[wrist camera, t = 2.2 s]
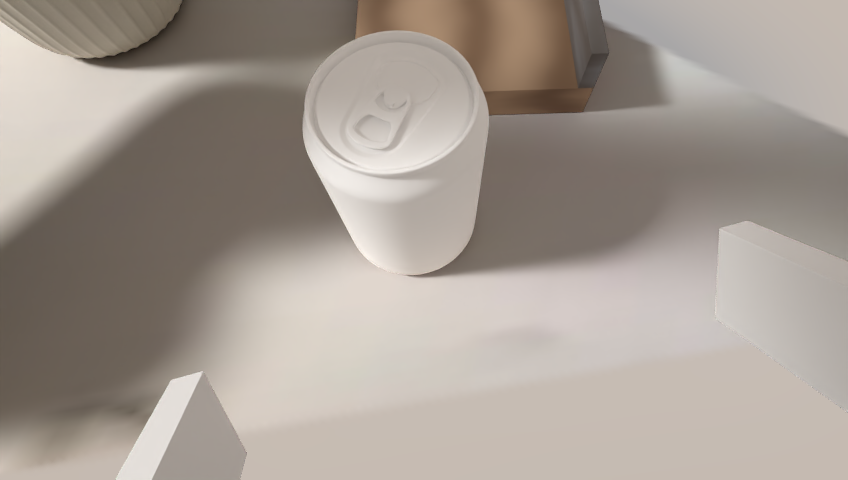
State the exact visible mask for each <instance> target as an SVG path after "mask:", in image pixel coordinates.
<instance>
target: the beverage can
mask: <svg viewBox="0 0 848 480" xmlns="http://www.w3.org/2000/svg"><path fill="white" fill-rule="evenodd" d="M488 130H489V112H488V106H487V102H486V98H485V95H484V93H483V91H482V89H481V87H480V85H479V83H478V81H477V78H476V76H475V73H474V71H473V69H472V68H471V66H470V65H469V63H468V62H467V60H466V59H465V58H464V57H463V56H462V55H461V54H460V53H459V52H458V51H457V50H456V49H454V48H453V47H452V46H450V45H449V44H447V43H445V42H443V41H442V40H439V39H437V38H435V37H432V36H429V35H426V34H423V33H418V32H412V31H398V30H396V31H383V32H377V33H372V34H369V35H365V36H362V37H360V38H357V39H355V40H352V41H350V42H348V43H346V44H345V45H343V46H341V47H340V48H338V49H337V50H336V51H334V52H333V53H332V54H331V55H329V56H328V57H327V58H326V59H325V60H324V61H323V62H322V64H321V65H320V66H319V67H318V69H317V70H316V71H315V73H314V75H313V76H312V78H311V80H310V83H309V85H308V88H307V91H306V96H305V104H304V115H303V139H304V144H305V148H306V151H307V154H308V156H309V158H310V160H311V162H312V164H313V166H314V168H315V170H316V172H317V173H318V175H319V177H320V179H321V181H322V183H323V185H324V187H325V189H326V190H327V192H328V194H329V196H330V198H331V200H332V202H333V204H334V205H335V207H336V209H337V211H338V213H339V215H340V217H341V219H342V221H343V222H344V224H345V226H346V228H347V230H348V232H349V234H350V236H351V237H352V239H353V241H354V243H355V245H356V246H357V248H358V250H359V251H360V252H361V253H362V255H363V256H364V257H365V258H366V259H367V260H369V261H370V262H371V263H373V264H374V265H376V266H377V267H379V268H381V269H383V270H386V271H388V272H392V273H395V274H401V275H419V274H425V273H429V272H432V271H435V270H437V269H440V268H442V267H444V266H445V265H447V264H449V263H450V262H451V261H453V260H454V259H455V258H456V257H457V256H458V255H459V254H460V253H461V252H462V251H463V250H464V248H465V247H466V245H467V244H468V242H469V240H470V238H471V236H472V233H473V230H474V225H475V219H476V212H477V206H478V199H479V192H480V185H481V178H482V171H483V165H484V158H485V151H486V144H487V137H488Z"/></svg>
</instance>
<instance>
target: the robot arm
mask: <svg viewBox="0 0 848 480" xmlns="http://www.w3.org/2000/svg"><path fill="white" fill-rule="evenodd" d="M715 319H717V320H718V321H719V322H721V323H722V324H724V325H725V326H727V327H728V328H729V329H731V330H732V331H734V332H735V333H736V334H738V335H739V336H741V337H742V338H743V339H745V340H746V341H748V342H749V343H750V344H752V345H753V346H755V347H756V348H757V349H759V350H760V351H762V352H763V353H764V354H766V355H767V356H769V357H770V358H772V359H773V360H774V361H776V362H777V363H779V364H780V365H781V366H783V367H784V368H786V369H787V370H789V371H790V372H791V373H793V374H794V375H795V376H797V377H798V378H800V379H801V380H802V381H804V382H805V383H807V384H808V385H809V386H811V387H812V388H814V389H815V390H816V391H818V392H819V393H821V394H822V395H823V396H825V397H826V398H828V399H829V400H831V401H832V402H833V403H835V404H836V405H838V406H839V407H840V408H842V409H843V410H845V411H846V412H847V413H848V261H846V260H844V259H841V258H839V257H836V256H834V255H831V254H829V253H826V252H824V251H822V250H819V249H817V248H814V247H812V246H809V245H807V244H804V243H802V242H799V241H797V240H794V239H792V238H790V237H787V236H785V235H782V234H780V233H777V232H775V231H772V230H770V229H767V228H765V227H762V226H760V225H758V224H755V223H753V222H750V221H748V220H747V221H743V222H740V223H736V224H733V225H729V226H725V227H722V228H719V244H718V264H717V284H716V304H715ZM246 455H247V452H246V451H245V448H244V446H243V445H242V443H241V441H240V439H239V437H238V435H237V433H236V431H235V430H234V428H233V426H232V424H231V422H230V420H229V418H228V416H227V415H226V413H225V411H224V409H223V407H222V405H221V403H220V401H219V400H218V398H217V396H216V394H215V392H214V390H213V388H212V386H211V385H210V383H209V381H208V379H207V377H206V375H205V373H204V371H201V372H198V373H194V374H191V375H187V376H183V377H180V378H176V379H173V380H171V381H170V383H169V384H168V386H167V388H166V390H165V392H164V393H163V395H162V397H161V399H160V400H159V402H158V404H157V406H156V408H155V409H154V411H153V413H152V415H151V417H150V418H149V420H148V422H147V424H146V425H145V427H144V429H143V431H142V433H141V434H140V436H139V438H138V440H137V441H136V443H135V445H134V447H133V449H132V450H131V452H130V454H129V456H128V457H127V459H126V461H125V463H124V465H123V466H122V468H121V470H120V472H119V474H118V475H117V477H116V479H115V480H240V477H241V474H242V470H243V466H244V462H245V458H246Z"/></svg>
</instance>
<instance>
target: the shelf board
mask: <svg viewBox="0 0 848 480" xmlns="http://www.w3.org/2000/svg"><path fill="white" fill-rule="evenodd" d="M396 30H398V31H412V32H418V33H423V34H426V35H429V36H432V37H435V38H437V39H439V40H442V41H443V42H445V43H447V44H449V45H450V46H452V47H453V48H454V49H456V50H457V51H458V52H459V53H460V54H461V55H462V56H463V57H464V58H465V59H466V60H467V62H468V63H469V65H470V66H471V68H472V69H473V71H474V73H475V76H476V78H477V81H478V83H479V85H480V87H481V89H482V91H483V93H484V95H485V98H486V102H487V106H488V112H489V115H502V114H534V113H566V112H583V110H584V108H585V106H586V103H587V101H588V99H589V97H590V94H591V92H592V90H593V88H594V86H595V83H596V81H597V79H598V77H599V74H600V72H601V70H602V68H603V65H604V63H605V61H606V59H607V56H608V54H609V51H608V46H607V41H606V36H605V31H604V26H603V21H602V16H601V11H600V6H599V1H598V0H358V8H357V22H356V36H355V39H357V38H360V37H362V36H365V35H369V34H372V33H377V32H383V31H396Z"/></svg>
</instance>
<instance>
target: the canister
mask: <svg viewBox="0 0 848 480" xmlns="http://www.w3.org/2000/svg"><path fill="white" fill-rule="evenodd" d="M182 2H183V0H0V21H1V22H2V23H4V24H5V25H7V26H8V27H10V28H11V29H13V30H14V31H16V32H17V33H19V34H20V35H22V36H23V37H25V38H26V39H28V40H29V41H31V42H33V43H34V44H36V45H38V46H40V47H43V48H45V49H48V50H50V51H52V52H55V53H58V54H62V55H68V56H71V57H76V58H81V57H83V58H89V59H90V58H94V57H98V58H103V57H105V56H108V55H111V56H114V55H116V54H118V53H121V52H127V51H128V50H130V49H132V48H137V47H138V46H139V45H141V44H142V43H145V42H148V41H149V39H150V38H152V37H153V36H156V35H158V33H159V32H160V31H161V30H162V29H164V28H166V25H167V24H168V22H170V21H172V20H173V17H174V15H175V13H177V12H178V11H179V5H181V3H182Z"/></svg>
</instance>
